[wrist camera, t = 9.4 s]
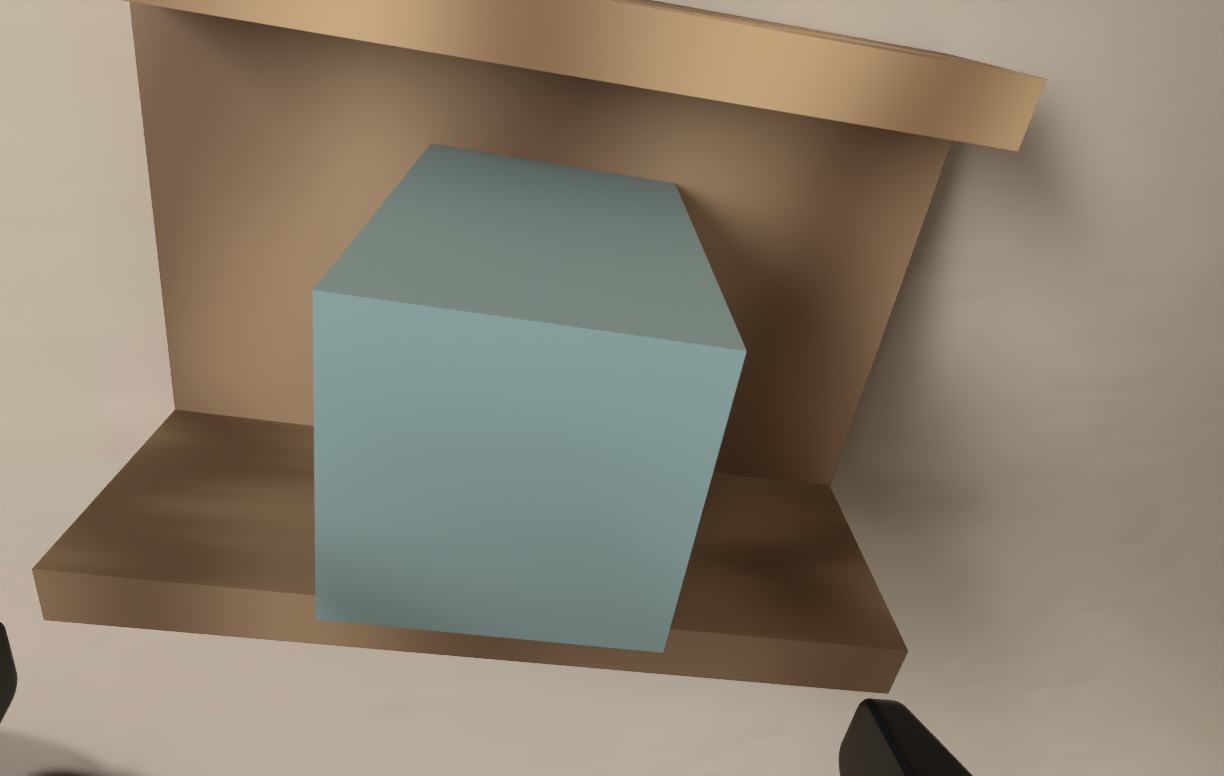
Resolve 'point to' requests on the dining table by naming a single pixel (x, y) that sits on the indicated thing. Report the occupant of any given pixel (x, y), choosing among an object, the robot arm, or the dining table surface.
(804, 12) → the dining table surface
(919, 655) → the dining table surface
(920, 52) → the cleat board
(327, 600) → the teal block
